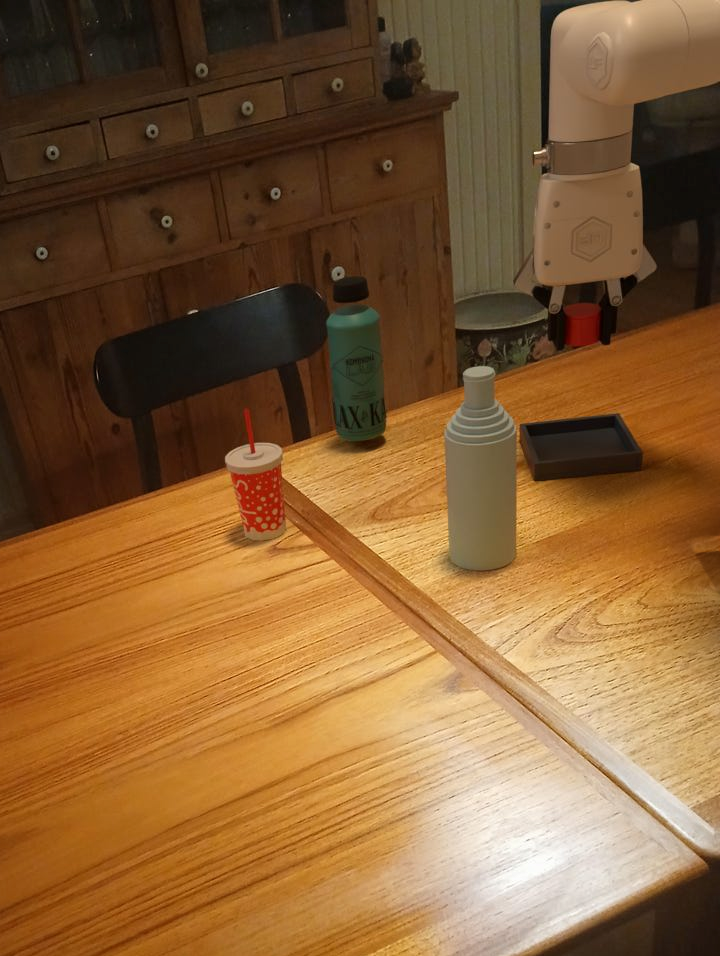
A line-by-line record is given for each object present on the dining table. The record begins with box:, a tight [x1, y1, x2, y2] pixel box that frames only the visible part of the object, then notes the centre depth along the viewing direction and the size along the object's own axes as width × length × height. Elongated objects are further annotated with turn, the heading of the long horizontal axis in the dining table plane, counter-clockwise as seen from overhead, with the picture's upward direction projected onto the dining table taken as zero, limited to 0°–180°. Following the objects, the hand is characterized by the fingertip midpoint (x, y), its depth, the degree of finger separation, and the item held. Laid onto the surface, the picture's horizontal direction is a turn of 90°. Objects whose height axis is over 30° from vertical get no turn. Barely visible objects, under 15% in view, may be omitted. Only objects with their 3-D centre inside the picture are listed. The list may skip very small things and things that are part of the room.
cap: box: [563, 302, 602, 347], centre depth 104 cm, size 4×4×3 cm
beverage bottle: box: [325, 275, 388, 442], centre depth 118 cm, size 6×7×20 cm
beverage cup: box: [224, 407, 287, 542], centre depth 104 cm, size 6×6×14 cm
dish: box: [519, 412, 644, 482], centre depth 111 cm, size 11×11×2 cm
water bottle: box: [443, 365, 518, 572], centre depth 91 cm, size 6×6×18 cm
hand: (580, 342), depth 104 cm, fingers closed on cap, 4 cm apart
